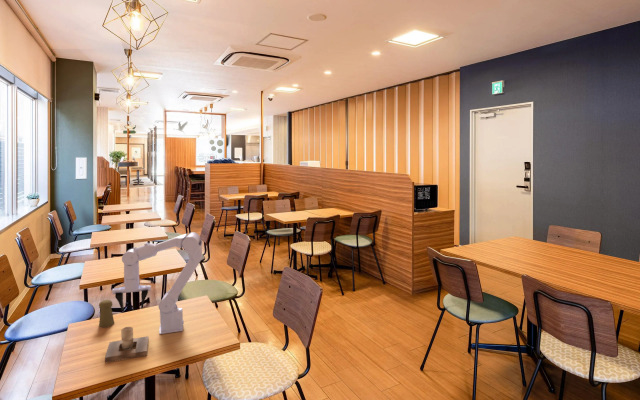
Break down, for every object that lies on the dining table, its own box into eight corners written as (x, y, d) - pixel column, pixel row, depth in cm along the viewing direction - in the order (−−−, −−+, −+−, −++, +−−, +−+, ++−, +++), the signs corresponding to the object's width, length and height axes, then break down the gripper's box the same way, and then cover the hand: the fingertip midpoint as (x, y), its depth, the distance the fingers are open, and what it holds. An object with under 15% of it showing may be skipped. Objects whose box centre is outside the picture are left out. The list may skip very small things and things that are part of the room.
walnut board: (148, 340, 152) (148, 336, 152) (147, 355, 141) (146, 350, 141) (109, 346, 147) (109, 342, 146) (105, 362, 136) (104, 357, 135)
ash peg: (132, 347, 147) (131, 325, 146) (134, 351, 143) (133, 329, 142) (121, 350, 144) (120, 328, 143) (122, 355, 141) (121, 332, 140)
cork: (107, 328, 162) (106, 304, 160) (95, 326, 163) (94, 302, 162) (117, 322, 168) (116, 299, 166) (106, 320, 169) (104, 297, 168)
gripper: (150, 273, 163) (151, 302, 165) (113, 276, 158) (114, 306, 159) (150, 278, 157) (150, 309, 158) (111, 281, 151) (112, 313, 153)
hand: (132, 308), depth 158 cm, fingers open, 7 cm apart
